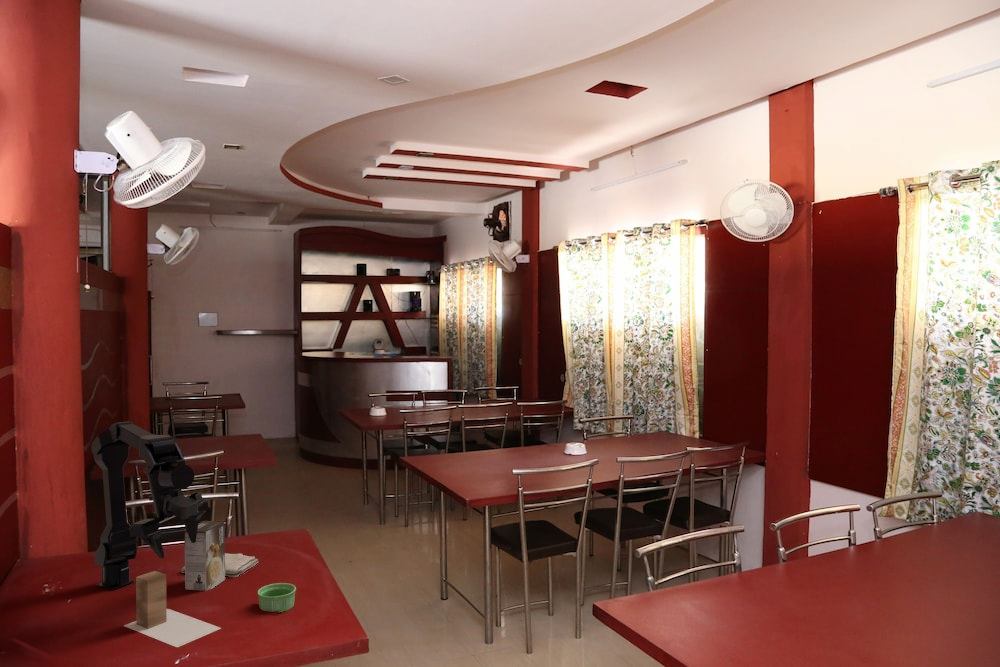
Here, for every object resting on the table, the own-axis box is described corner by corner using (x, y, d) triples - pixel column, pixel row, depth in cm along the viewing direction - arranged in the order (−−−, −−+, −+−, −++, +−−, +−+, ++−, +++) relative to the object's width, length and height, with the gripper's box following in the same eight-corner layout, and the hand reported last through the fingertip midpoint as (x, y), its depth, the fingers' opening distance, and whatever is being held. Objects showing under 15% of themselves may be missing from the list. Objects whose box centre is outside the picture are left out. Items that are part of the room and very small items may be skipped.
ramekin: (303, 603, 175) (303, 586, 175) (278, 617, 167) (278, 599, 167) (275, 597, 179) (275, 580, 179) (249, 611, 171) (249, 593, 170)
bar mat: (123, 628, 161) (123, 625, 161) (168, 611, 170) (168, 608, 170) (177, 650, 150) (177, 647, 150) (221, 630, 160) (221, 628, 160)
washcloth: (239, 579, 192) (239, 568, 192) (178, 576, 195) (178, 564, 195) (260, 564, 204) (260, 554, 204) (203, 561, 206) (203, 550, 206)
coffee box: (204, 578, 191) (203, 519, 191) (226, 580, 190) (225, 521, 190) (184, 591, 182) (183, 530, 182) (207, 593, 181) (206, 531, 181)
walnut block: (136, 624, 161) (136, 576, 161) (155, 617, 165) (154, 570, 165) (148, 629, 159) (147, 580, 159) (166, 621, 163) (166, 574, 163)
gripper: (152, 500, 160) (167, 566, 161) (217, 474, 176) (231, 534, 177) (120, 502, 165) (136, 566, 166) (187, 477, 181) (200, 535, 182)
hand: (178, 550), depth 172 cm, fingers open, 9 cm apart
